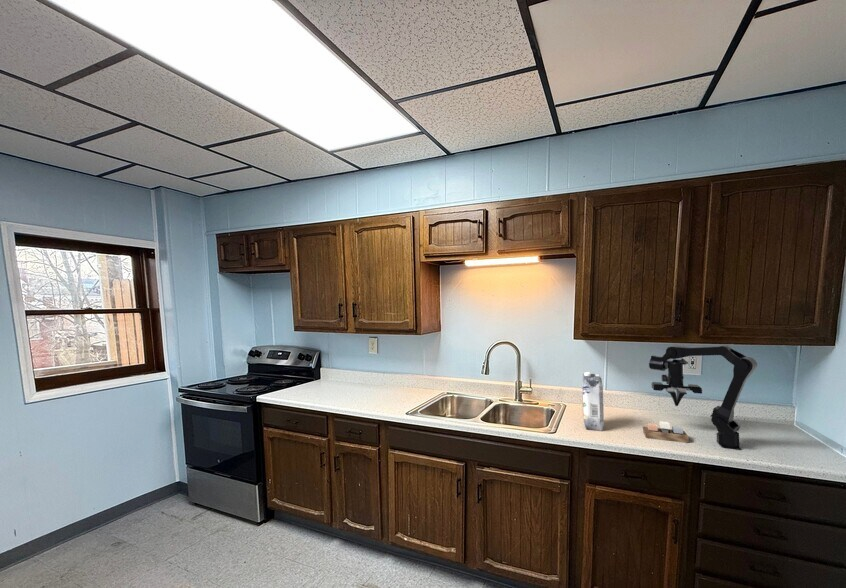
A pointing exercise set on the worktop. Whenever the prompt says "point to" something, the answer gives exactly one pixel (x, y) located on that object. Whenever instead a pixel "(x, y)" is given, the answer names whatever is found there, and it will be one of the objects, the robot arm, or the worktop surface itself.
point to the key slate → (677, 430)
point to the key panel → (666, 435)
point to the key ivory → (664, 426)
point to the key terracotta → (652, 427)
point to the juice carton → (592, 401)
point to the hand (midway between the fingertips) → (676, 405)
